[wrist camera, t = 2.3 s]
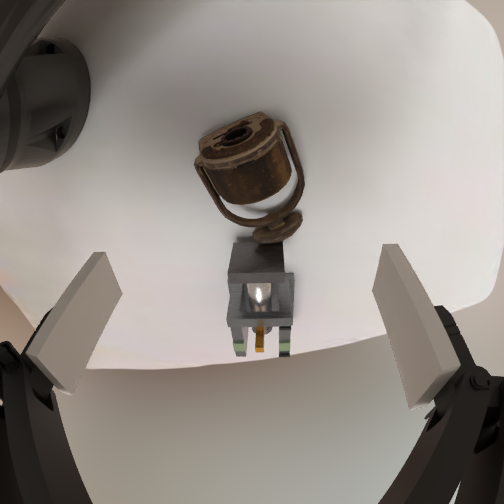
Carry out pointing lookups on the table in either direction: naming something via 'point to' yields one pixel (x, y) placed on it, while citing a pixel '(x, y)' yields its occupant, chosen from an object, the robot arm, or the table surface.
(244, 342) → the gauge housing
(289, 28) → the table surface
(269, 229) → the brown drum with yoke
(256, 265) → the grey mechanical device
